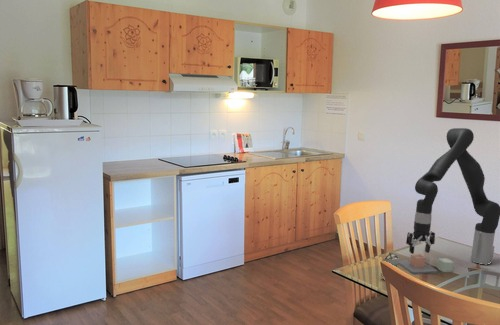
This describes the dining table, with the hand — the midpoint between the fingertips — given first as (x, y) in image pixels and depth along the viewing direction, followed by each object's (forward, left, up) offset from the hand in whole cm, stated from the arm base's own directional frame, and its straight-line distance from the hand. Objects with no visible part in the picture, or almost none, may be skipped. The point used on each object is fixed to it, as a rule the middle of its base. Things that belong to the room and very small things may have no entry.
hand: (419, 252), depth 216 cm
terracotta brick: (0, 0, -7) cm, 7 cm away
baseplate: (0, 0, -8) cm, 8 cm away
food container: (+20, +9, -8) cm, 24 cm away
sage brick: (-13, +4, -8) cm, 16 cm away
